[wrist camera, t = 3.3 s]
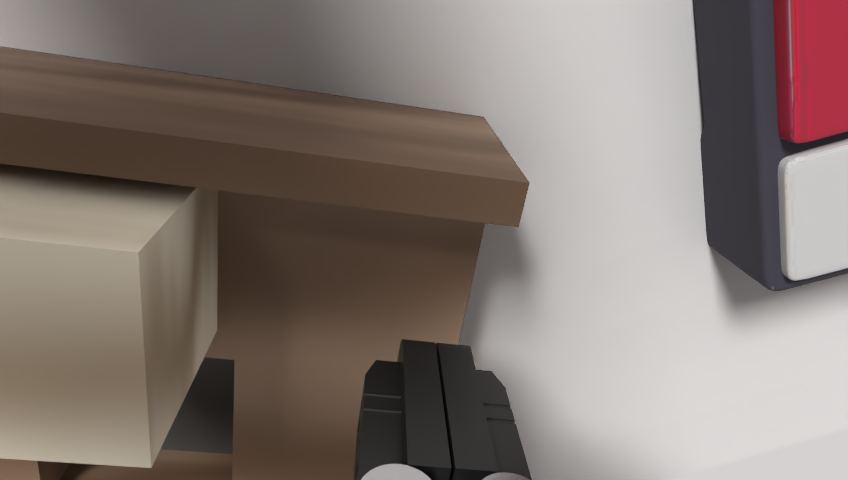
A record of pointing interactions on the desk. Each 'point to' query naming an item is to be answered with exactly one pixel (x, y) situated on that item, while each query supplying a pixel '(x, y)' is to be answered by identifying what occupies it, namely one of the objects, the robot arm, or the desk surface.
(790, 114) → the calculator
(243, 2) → the desk surface
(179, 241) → the birch block
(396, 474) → the robot arm
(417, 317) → the trap track
